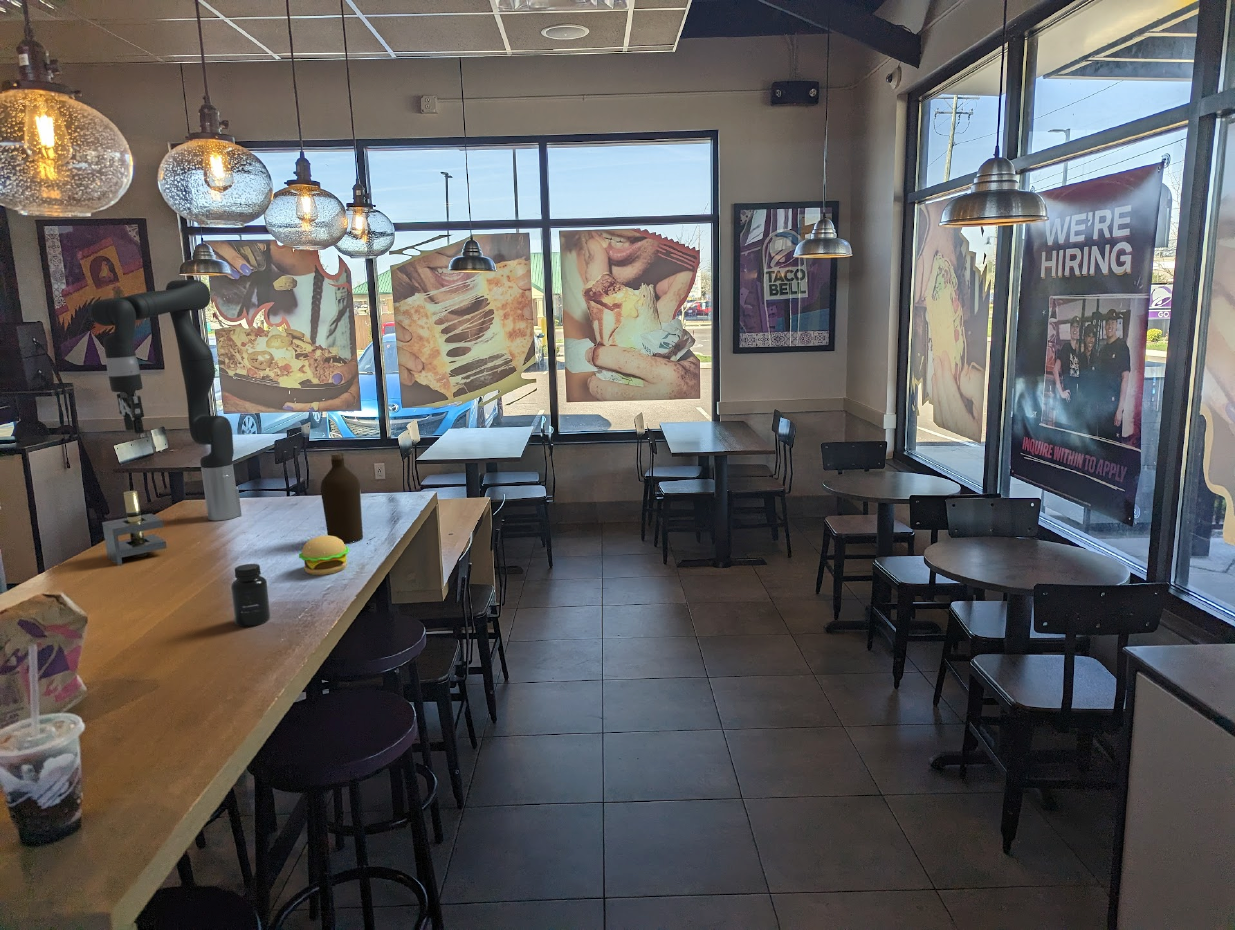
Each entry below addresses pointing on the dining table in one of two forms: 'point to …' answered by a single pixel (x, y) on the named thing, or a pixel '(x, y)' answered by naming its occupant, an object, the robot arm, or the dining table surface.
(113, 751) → the dining table surface
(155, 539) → the collar stand
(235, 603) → the supplement bottle
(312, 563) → the hamburger
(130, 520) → the brass tube
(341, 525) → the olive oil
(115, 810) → the dining table surface
